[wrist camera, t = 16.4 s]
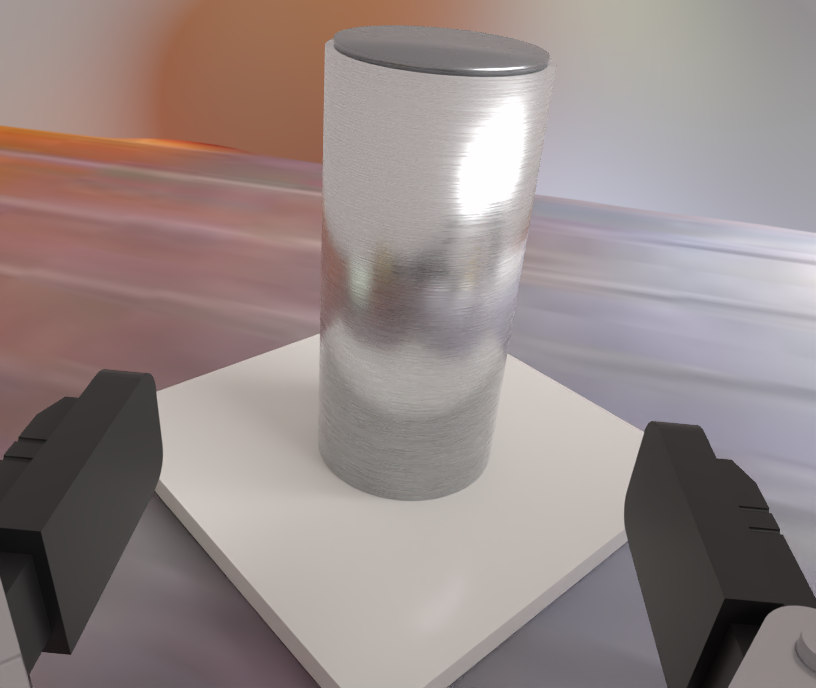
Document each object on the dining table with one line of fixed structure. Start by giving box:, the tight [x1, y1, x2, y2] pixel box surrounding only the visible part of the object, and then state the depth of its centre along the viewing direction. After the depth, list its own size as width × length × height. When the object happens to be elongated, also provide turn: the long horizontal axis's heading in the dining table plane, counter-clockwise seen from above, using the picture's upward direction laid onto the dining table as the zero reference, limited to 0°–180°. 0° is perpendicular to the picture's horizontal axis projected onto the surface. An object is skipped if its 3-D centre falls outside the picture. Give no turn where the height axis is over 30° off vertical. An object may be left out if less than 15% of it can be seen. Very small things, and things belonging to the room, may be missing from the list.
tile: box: [154, 334, 644, 688], centre depth 25 cm, size 14×14×1 cm
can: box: [318, 26, 556, 501], centre depth 21 cm, size 6×6×12 cm
